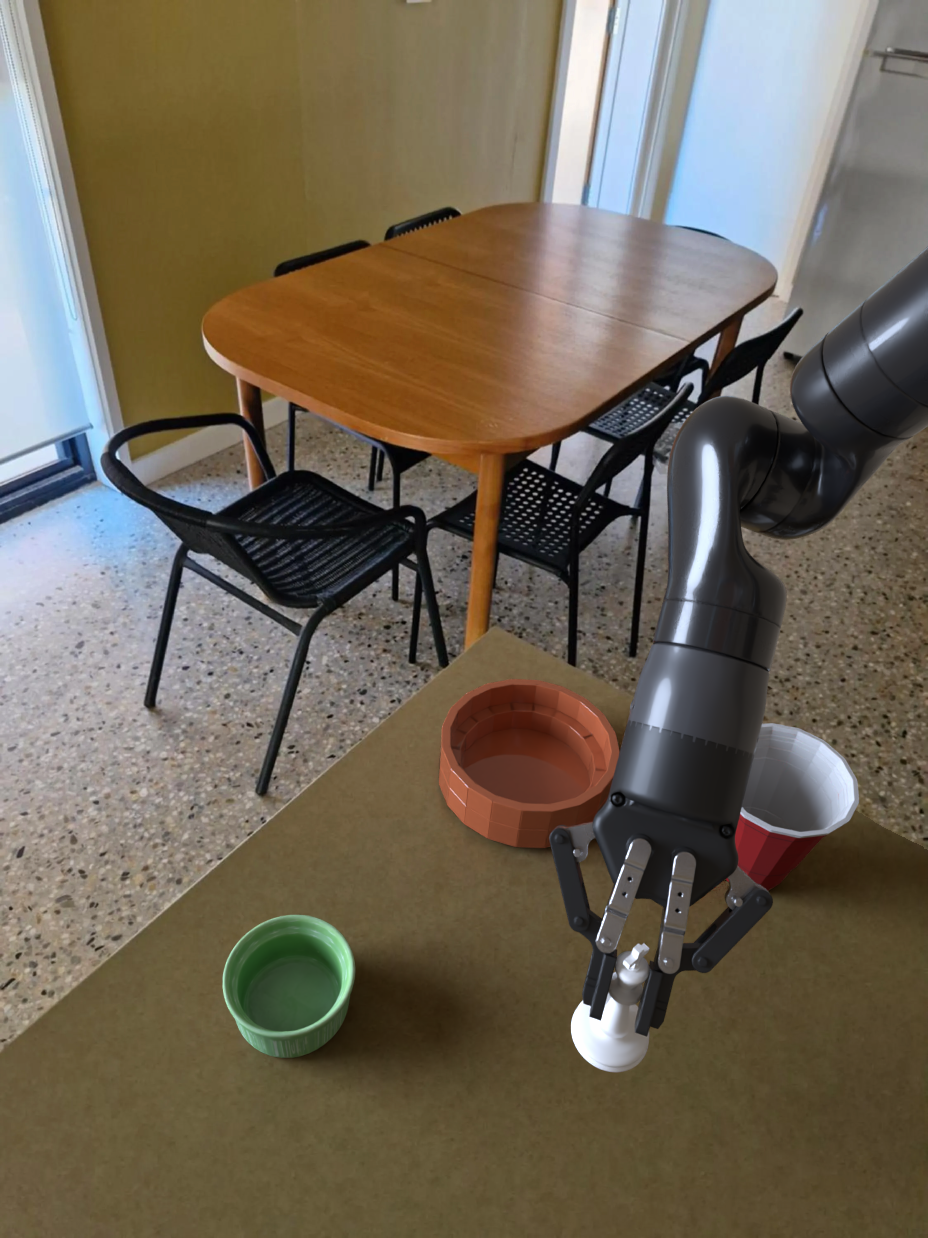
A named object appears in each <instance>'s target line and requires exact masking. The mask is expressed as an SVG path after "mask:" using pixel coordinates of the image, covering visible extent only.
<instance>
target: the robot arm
mask: <svg viewBox="0 0 928 1238" xmlns="http://www.w3.org/2000/svg"><path fill="white" fill-rule="evenodd" d="M789 393H790V400H791V403H792V407H793V409H794V412H795V413H796V416H797V417H798V419H799V421H797V420H795V419H792V418H791V417H788V416H785V415H783V414H780V413H778V412H777V411H773V410H771V409H768V408H767V407H764V406H762V405H760V404H757V403H756V402H752V401H751V400H748V399H745V398H742V397H738V396H733V395H721V396H716V397H713V398H711V399H708V400H706V401H704V402H703V403H701V404H700V405H699V406H698V407H696V408H695V409H694V410H693V411H692V412H691V413H690V414H689V415H688V416H687V417H686V419H685V420H684V421H683V423H682V425H681V426H680V428H679V430H678V432H677V433H676V436H675V438H674V440H673V443H672V445H671V446H672V447H671V450H670V453H669V459H668V464H667V474H666V501H667V502H666V503H667V505H666V506H667V539H668V540H667V583H666V589H665V593H664V596H663V600H662V602H661V606H660V611H659V615H658V618H657V622H656V627H655V629H654V630H655V631H654V634H653V637H652V638H653V639H652V644H651V646H650V649H649V652H648V655H647V657H646V660H645V663H644V664H643V667H642V669H641V672H640V674H639V676H638V681H637V684H636V688H635V691H634V694H633V698H632V701H631V702H630V706H629V714H628V718H627V722H626V726H625V729H624V730H625V731H624V734H623V737H622V742H621V746H620V748H619V751H620V753H619V757H618V761H617V764H616V768H615V772H614V776H613V780H612V784H611V788H610V792H609V796H608V799H607V801H606V803H605V804H604V806H603V807H602V808H601V809H600V810H599V811H598V812H597V813H596V815H595V817H594V820H593V822H588V823H583V824H579V825H574V826H570V827H568V826H566V825H559V826H557V827H556V828H555V829H554V830H553V831H552V832H551V834H550V837H549V840H550V845H551V847H550V848H551V853H552V857H553V863H554V866H555V870H556V873H557V879H558V883H559V887H560V892H561V896H562V900H563V904H564V908H565V912H566V916H567V922H568V925H569V928H570V929H571V930H573V931H574V932H576V933H579V934H581V936H583V937H584V938H585V939H587V940H588V941H589V943H590V945H591V948H592V952H591V956H590V960H589V963H588V966H587V971H586V975H585V979H584V983H583V987H582V991H581V997H582V1001H583V1004H586V1005H589V1006H591V1008H590V1014H589V1017H591V1018H594V1019H597V1020H600V1021H601V1019H602V1015H603V1011H604V1008H605V1004H606V1000H607V996H608V992H609V988H610V984H611V980H612V976H613V973H615V964H616V960H617V956H618V949H617V946H618V944H619V941H620V938H621V935H622V933H623V930H624V927H625V924H626V921H627V919H628V917H629V915H630V912H631V909H632V906H633V903H634V900H635V899H637V900H651V901H654V903H656V904H658V905H659V906H661V907H662V908H661V909H662V910H661V919H660V927H659V934H658V941H657V946H656V951H655V954H654V959H653V961H652V960H649V962H648V964H649V968H650V971H649V976H648V978H647V979H646V980H645V981H644V982H643V986H642V987H643V991H642V995H641V999H640V1001H639V1002H638V1011H637V1015H636V1020H635V1033H638V1034H640V1035H643V1036H646V1037H647V1036H648V1032H649V1033H650V1028H653V1029H656V1030H659V1029H660V1027H661V1026H662V1025H663V1024H664V1022H665V1018H666V1013H667V1010H668V1006H669V1002H670V998H671V994H672V990H673V986H674V981H675V979H676V977H677V976H678V975H679V974H680V973H682V972H688V971H690V972H691V971H692V972H693V971H697V972H698V973H700V974H708V973H709V972H711V971H712V970H713V969H714V968H716V966H717V965H718V964H719V963H720V962H721V960H723V959H724V958H725V956H727V954H728V953H729V952H731V950H732V949H733V948H734V947H735V946H737V944H738V943H739V942H740V941H741V940H742V939H743V938H744V937H745V936H746V935H747V934H748V933H749V932H750V931H751V930H752V929H753V928H754V926H755V925H757V923H759V921H760V920H761V919H762V918H763V917H764V916H765V915H766V914H767V913H768V912H769V911H770V910H771V908H772V907H773V904H774V899H773V897H772V895H771V893H770V892H769V891H767V890H766V888H764V887H763V886H762V885H760V884H757V883H755V882H754V881H753V880H752V879H751V878H750V877H749V876H748V875H747V874H746V873H745V872H744V871H743V870H742V869H741V868H740V867H739V866H738V861H739V858H738V852H737V849H736V845H735V834H736V829H737V825H738V821H739V817H740V813H741V809H742V805H743V801H744V796H745V792H746V788H747V784H748V780H749V776H750V772H751V768H752V764H753V760H754V756H755V751H756V747H757V743H758V739H759V735H760V731H761V727H762V724H764V723H763V722H764V718H765V714H766V706H767V698H768V697H767V696H768V687H769V680H770V675H771V674H770V672H771V670H772V666H773V662H774V658H775V654H776V651H777V650H776V649H777V646H778V642H779V638H780V634H781V628H782V625H783V622H784V621H783V620H784V618H785V612H786V606H787V601H788V600H787V599H788V598H787V597H788V594H787V588H786V586H785V584H784V582H783V581H782V579H781V578H780V577H779V576H778V575H776V573H774V572H773V571H772V570H770V569H769V568H768V567H766V566H765V565H764V564H762V563H761V562H760V561H758V560H757V559H756V558H755V557H754V556H753V555H752V554H751V553H750V552H749V550H748V549H747V547H746V545H745V542H744V539H743V533H742V532H743V531H742V528H744V529H746V530H748V531H751V532H754V533H755V534H759V535H762V536H763V537H764V536H765V537H767V538H771V539H775V540H780V541H782V540H784V541H789V540H797V539H801V538H804V537H808V536H811V535H814V534H816V533H818V532H820V531H822V530H823V529H825V528H827V526H829V525H830V524H831V523H833V522H834V520H835V519H836V518H838V516H840V514H842V512H843V511H844V509H845V508H846V507H847V506H848V504H849V503H850V502H851V501H852V500H853V498H854V497H855V496H856V495H857V494H858V493H859V491H860V490H861V489H862V488H863V487H864V486H865V484H867V483H868V481H869V480H870V479H871V478H872V477H873V476H874V475H875V473H877V471H878V470H879V469H880V468H881V466H882V465H883V464H884V463H885V462H886V461H887V459H888V458H889V457H890V456H891V455H892V454H893V453H894V451H895V450H897V448H898V447H899V446H900V445H901V444H903V443H905V442H907V441H908V440H909V439H911V438H913V437H915V436H916V435H917V434H919V433H921V432H922V431H923V430H925V429H927V428H928V245H927V246H926V247H925V248H924V249H923V250H921V251H920V252H919V253H918V254H917V255H915V256H914V257H913V258H912V259H911V260H910V261H909V262H908V263H906V264H905V265H904V266H903V267H902V268H901V269H899V270H898V271H897V272H896V273H895V274H894V275H892V276H891V277H890V278H889V279H888V280H886V281H885V282H884V283H883V284H882V285H881V286H879V288H877V289H876V290H875V291H874V292H873V293H872V294H870V295H869V296H867V297H866V299H864V301H862V302H861V303H860V304H858V306H856V307H855V308H854V309H853V310H852V311H850V313H849V314H848V315H846V316H845V317H844V318H843V319H841V321H840V322H838V323H836V325H835V326H834V327H832V329H831V330H829V331H828V332H826V334H825V335H824V336H823V337H820V339H819V340H817V342H816V343H814V344H813V345H812V346H810V348H809V349H808V350H807V351H806V352H805V354H803V356H801V358H800V359H799V361H798V362H797V364H796V365H795V367H794V370H793V372H792V374H791V378H790V384H789ZM594 839H595V840H596V843H597V846H598V848H599V851H600V853H601V856H602V859H603V862H604V864H605V867H606V869H607V871H608V874H609V877H610V880H611V882H612V884H613V885H612V887H611V891H610V894H609V896H608V900H607V903H606V905H605V908H604V911H603V914H602V917H600V916H599V915H598V914H596V913H595V911H593V910H592V909H591V906H590V901H589V898H588V894H587V890H586V885H585V882H584V881H585V880H584V878H583V873H582V869H581V865H580V863H581V862H583V861H585V860H586V859H587V857H588V856H589V844H590V843H591V842H592V840H594ZM727 878H728V880H729V882H728V888H727V890H726V891H725V892H724V901H725V904H726V905H727V907H726V908H725V909H724V910H723V911H722V912H721V913H720V915H718V916H717V917H716V918H715V920H714V921H712V922H711V924H710V925H709V926H708V927H707V928H706V929H705V930H704V931H703V932H702V933H701V934H700V935H699V936H698V937H697V938H696V939H695V940H694V941H693V942H684V939H685V934H686V931H687V925H688V919H689V911H690V907H692V906H694V905H695V904H696V903H697V902H699V901H700V900H701V899H702V898H704V897H705V896H707V894H709V893H710V892H712V891H713V890H714V889H715V888H717V887H718V886H719V885H721V884H722V883H723V882H724V881H725V880H726V879H727Z"/></svg>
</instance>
